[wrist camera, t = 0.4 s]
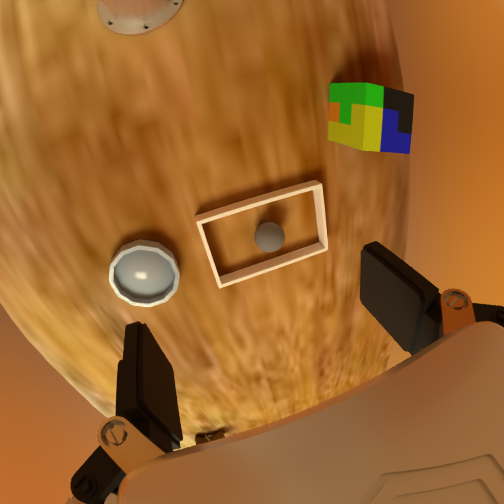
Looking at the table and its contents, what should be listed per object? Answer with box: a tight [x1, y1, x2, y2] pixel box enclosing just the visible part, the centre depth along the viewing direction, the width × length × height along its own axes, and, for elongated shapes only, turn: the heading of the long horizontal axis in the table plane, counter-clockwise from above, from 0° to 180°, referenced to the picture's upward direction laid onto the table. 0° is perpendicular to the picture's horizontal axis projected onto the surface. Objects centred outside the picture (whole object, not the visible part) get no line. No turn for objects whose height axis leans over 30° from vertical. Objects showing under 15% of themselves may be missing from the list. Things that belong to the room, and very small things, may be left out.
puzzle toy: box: [328, 83, 414, 154], centre depth 39 cm, size 10×10×10 cm
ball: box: [255, 222, 285, 252], centre depth 48 cm, size 5×5×5 cm
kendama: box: [195, 430, 225, 445], centre depth 81 cm, size 6×10×20 cm
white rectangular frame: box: [195, 180, 328, 288], centre depth 49 cm, size 13×21×2 cm, turn 102°
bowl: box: [109, 239, 180, 307], centre depth 46 cm, size 12×12×2 cm
